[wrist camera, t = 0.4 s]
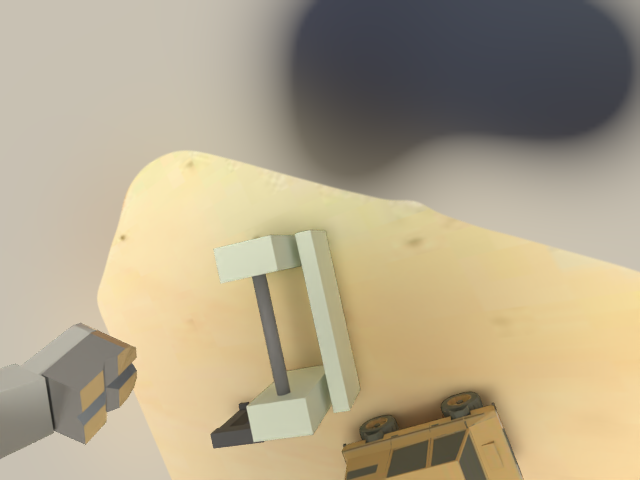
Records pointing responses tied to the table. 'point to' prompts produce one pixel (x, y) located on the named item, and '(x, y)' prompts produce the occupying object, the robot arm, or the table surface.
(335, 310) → the lever switch frame
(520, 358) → the table surface
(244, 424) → the dark grey flanged post
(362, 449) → the toy car
